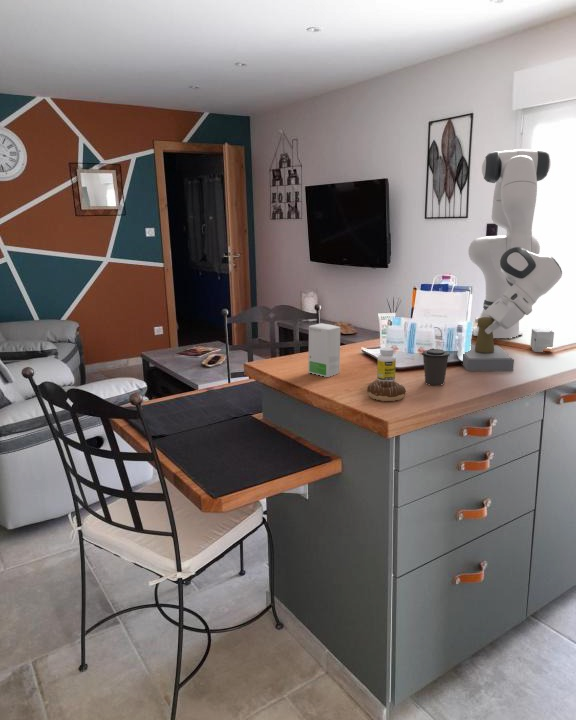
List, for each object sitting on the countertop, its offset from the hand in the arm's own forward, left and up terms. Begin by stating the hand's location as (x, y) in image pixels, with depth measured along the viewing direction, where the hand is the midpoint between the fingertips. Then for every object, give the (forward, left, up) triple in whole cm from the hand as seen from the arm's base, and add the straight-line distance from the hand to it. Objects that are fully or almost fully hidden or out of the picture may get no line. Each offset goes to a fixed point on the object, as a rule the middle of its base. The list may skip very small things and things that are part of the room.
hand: (483, 330), depth 182 cm
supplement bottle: (+19, -32, -11) cm, 39 cm away
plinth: (0, +1, -11) cm, 11 cm away
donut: (+35, -33, -12) cm, 50 cm away
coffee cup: (+22, -18, -11) cm, 31 cm away
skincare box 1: (+12, -51, -11) cm, 54 cm away
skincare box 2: (-18, +25, -11) cm, 33 cm away
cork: (0, +1, -7) cm, 7 cm away
